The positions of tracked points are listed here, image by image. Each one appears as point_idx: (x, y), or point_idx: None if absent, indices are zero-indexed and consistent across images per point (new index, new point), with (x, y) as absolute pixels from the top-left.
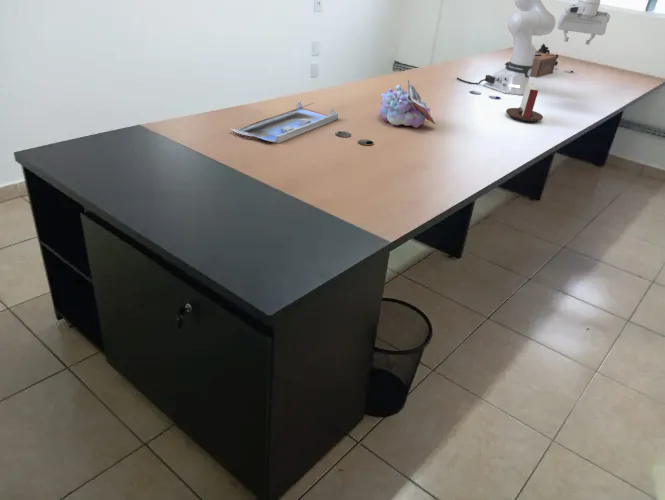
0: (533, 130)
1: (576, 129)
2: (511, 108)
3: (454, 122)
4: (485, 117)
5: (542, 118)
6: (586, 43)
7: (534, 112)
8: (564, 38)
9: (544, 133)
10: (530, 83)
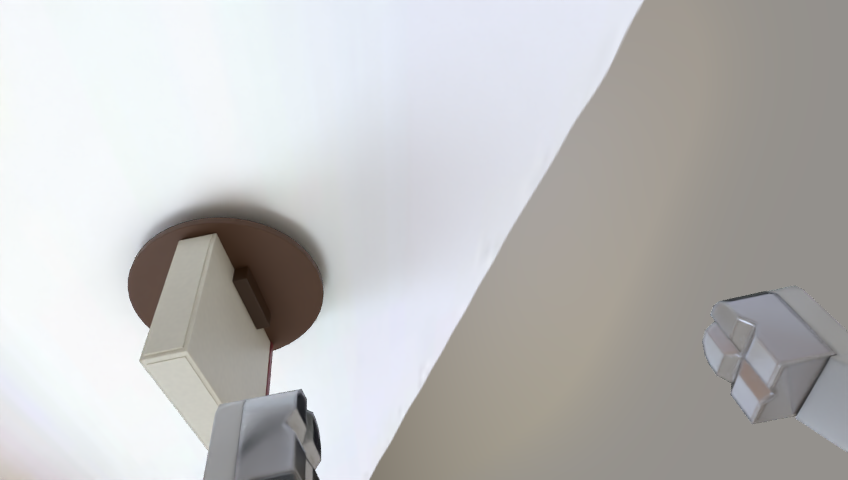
0: (309, 381)
1: (477, 265)
2: (140, 266)
3: (39, 474)
4: (88, 371)
5: (322, 297)
6: (714, 367)
7: (269, 250)
8: (211, 451)
9: (351, 383)
10: (173, 378)
